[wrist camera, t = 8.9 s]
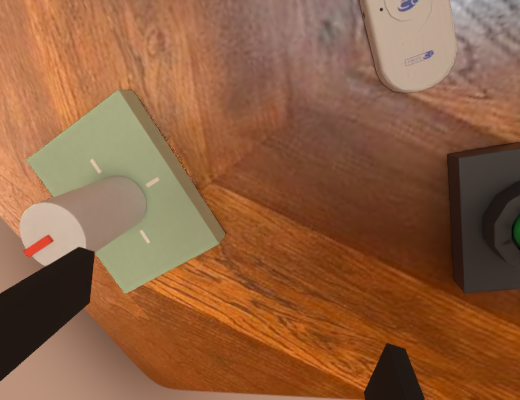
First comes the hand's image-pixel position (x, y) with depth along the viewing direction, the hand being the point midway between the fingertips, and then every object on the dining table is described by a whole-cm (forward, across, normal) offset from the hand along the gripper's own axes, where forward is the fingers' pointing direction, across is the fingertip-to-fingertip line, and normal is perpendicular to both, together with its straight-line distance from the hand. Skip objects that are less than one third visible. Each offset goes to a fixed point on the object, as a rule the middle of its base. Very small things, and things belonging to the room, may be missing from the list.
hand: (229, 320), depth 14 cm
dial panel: (+18, -14, -3) cm, 22 cm away
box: (+18, +20, +5) cm, 27 cm away
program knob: (+15, -14, -3) cm, 20 cm away
